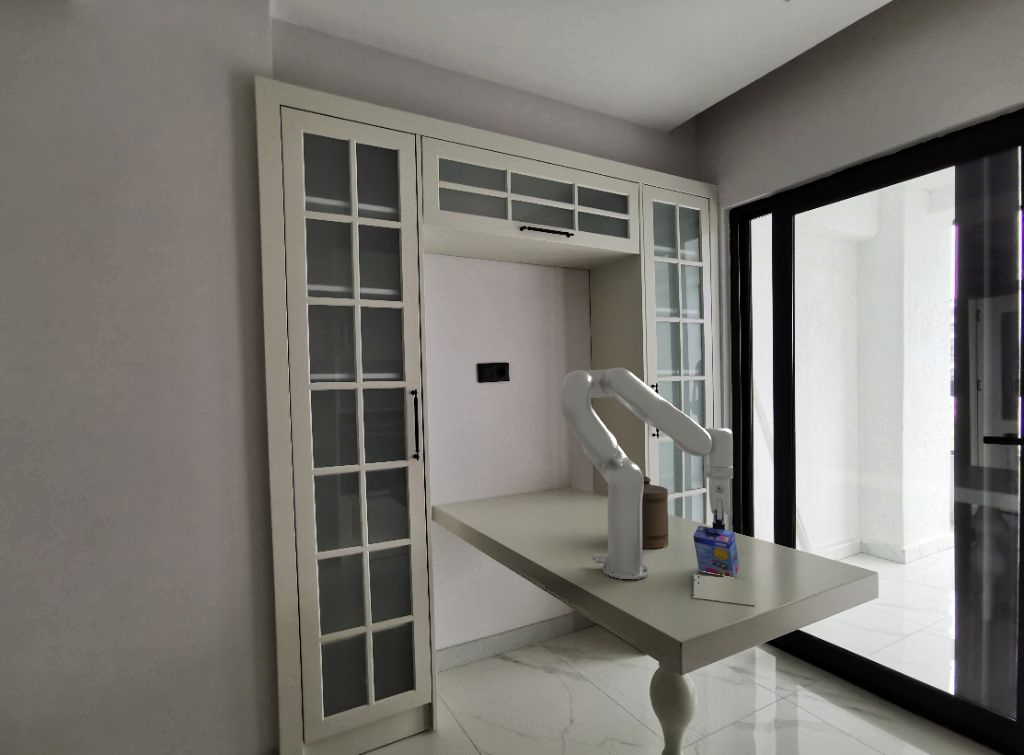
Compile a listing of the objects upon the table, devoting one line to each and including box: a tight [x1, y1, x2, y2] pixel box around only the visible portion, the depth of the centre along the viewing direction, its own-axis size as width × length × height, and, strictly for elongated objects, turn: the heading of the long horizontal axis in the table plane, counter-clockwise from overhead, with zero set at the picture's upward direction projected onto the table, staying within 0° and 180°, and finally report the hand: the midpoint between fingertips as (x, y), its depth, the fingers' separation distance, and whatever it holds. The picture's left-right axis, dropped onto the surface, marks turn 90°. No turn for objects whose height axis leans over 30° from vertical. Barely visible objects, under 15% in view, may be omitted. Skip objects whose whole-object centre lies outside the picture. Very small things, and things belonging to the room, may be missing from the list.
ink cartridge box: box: [693, 525, 740, 578], centre depth 141 cm, size 10×6×14 cm, turn 51°
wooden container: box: [642, 475, 669, 549], centre depth 171 cm, size 15×15×22 cm
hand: (718, 537), depth 143 cm, fingers closed
